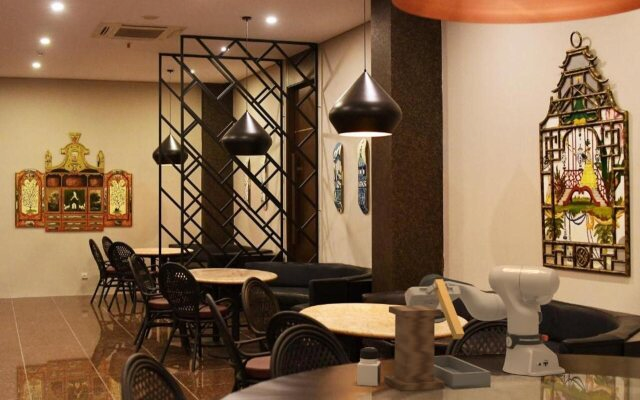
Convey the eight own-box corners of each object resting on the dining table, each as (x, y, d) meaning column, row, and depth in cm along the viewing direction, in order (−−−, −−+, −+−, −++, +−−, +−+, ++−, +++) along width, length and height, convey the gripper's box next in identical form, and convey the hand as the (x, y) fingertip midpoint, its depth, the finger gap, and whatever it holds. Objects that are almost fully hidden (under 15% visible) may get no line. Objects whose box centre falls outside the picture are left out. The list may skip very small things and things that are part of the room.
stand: (426, 379, 283) (427, 304, 283) (444, 388, 269) (445, 310, 269) (384, 381, 278) (384, 306, 278) (400, 391, 264) (401, 311, 264)
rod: (440, 284, 297) (442, 279, 294) (461, 338, 281) (464, 333, 278) (432, 284, 296) (435, 279, 294) (453, 339, 280) (456, 334, 278)
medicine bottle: (377, 386, 271) (378, 350, 271) (356, 385, 272) (357, 349, 272) (380, 381, 278) (381, 346, 278) (360, 380, 279) (360, 345, 279)
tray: (449, 368, 301) (450, 355, 301) (490, 386, 272) (490, 371, 272) (415, 370, 296) (415, 357, 296) (452, 389, 268) (453, 374, 268)
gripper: (453, 307, 305) (469, 292, 294) (403, 309, 299) (417, 294, 287) (450, 292, 308) (465, 276, 297) (400, 293, 302) (414, 277, 290)
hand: (441, 285), depth 292 cm, fingers closed on rod, 3 cm apart
